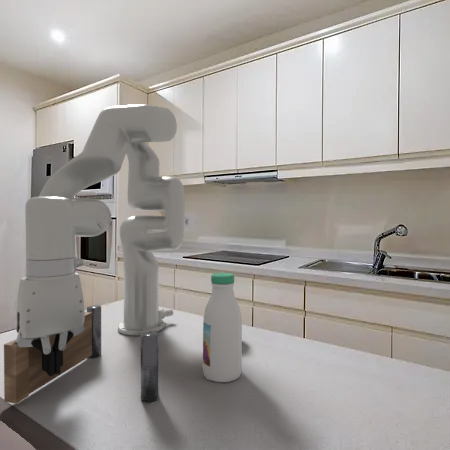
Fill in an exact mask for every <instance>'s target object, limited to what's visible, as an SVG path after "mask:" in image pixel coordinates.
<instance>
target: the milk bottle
mask: <svg viewBox="0 0 450 450" xmlns="http://www.w3.org/2000/svg"><path fill="white" fill-rule="evenodd" d="M210 282H211V287H212V289H211V293H210V297H209V299H208V301H207V304H206V306H205V308H204V313H203V321H202V322H203V323H202V324H203V325H202V326H203V327H202V335H203V336H202V371H203V376H204V377H205V379H207V380H209V381H212V382H215V383H229V382H232V381H236V380H237V379H239V378H240V376H241V374H242V368H243V365H242V364H243V363H242V362H243V355H242V353H243V351H242V349H243V345H242V344H243V333H242V332H243V325H242V324H243V323H242V322H243V320H242V312H241V309H240V305H239V303H238V301H237V298H236V296H235V291H234V286H235V274H233V273H230V272H216V273H212V274H211V276H210Z"/></svg>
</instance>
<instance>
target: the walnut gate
mask: <svg viewBox="0 0 450 450" xmlns="http://www.w3.org/2000/svg"><path fill="white" fill-rule="evenodd" d="M84 328H85V330H84V332H82V333H80V334H78V335H76V336H73V337H72V338H71V339H70V341H69V342H68V343H67V344H66V347H65V349H64V350H63V366H60V374H54V376H51V377H50V376H49V375H48V374H47V373H46V371H43V370H42V352H41V351H40V350H38V349H36V348H35V347H19V346H18V345H17V344H16V340H17V338H16V339H14V340H11V341H8V342H6V343H3V379H4V380H3V383H4V385H3V386H4V390H3V392H4V397H3V398H4V402H5V403H11V404H15V405H17V404H18V403H20V402H21V401H23V400H25V399H27V398H28V397H29V396H30V394H32V393H33V392H35V391H36V390H39V389H40V388H42V387H43V386H45V385H46V384H48V383H49V382H51V381H53V380H54V379H55V378H58V377H59V376H61V375H62V374H64V373H65V372H67V371H69V370H70V369H72V368H73V367H75V366H77V365H78V364H80V363H81V362H83V361H84V360H86V359H89V358H88V357H90V356H91V355H92V313H91V312H87V311H85V320H84ZM54 336H55V335H51V336H49V341H50V346H51V347H52V346H53V344H54Z"/></svg>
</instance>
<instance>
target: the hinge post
mask: <svg viewBox="0 0 450 450" xmlns="http://www.w3.org/2000/svg"><path fill="white" fill-rule="evenodd" d="M86 312H91V313H92V355H91V356H90V357H88V358H87V359H98V358H100V357H102V305H99V304H96V305H95V304H94V305H89V306H86Z"/></svg>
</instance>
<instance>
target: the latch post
mask: <svg viewBox="0 0 450 450" xmlns="http://www.w3.org/2000/svg"><path fill="white" fill-rule="evenodd" d="M158 399H159V332H153V331H149V332H144V333H142V334H141V335H140V400H141V402H143V403H153V402H156V401H157V400H158Z"/></svg>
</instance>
